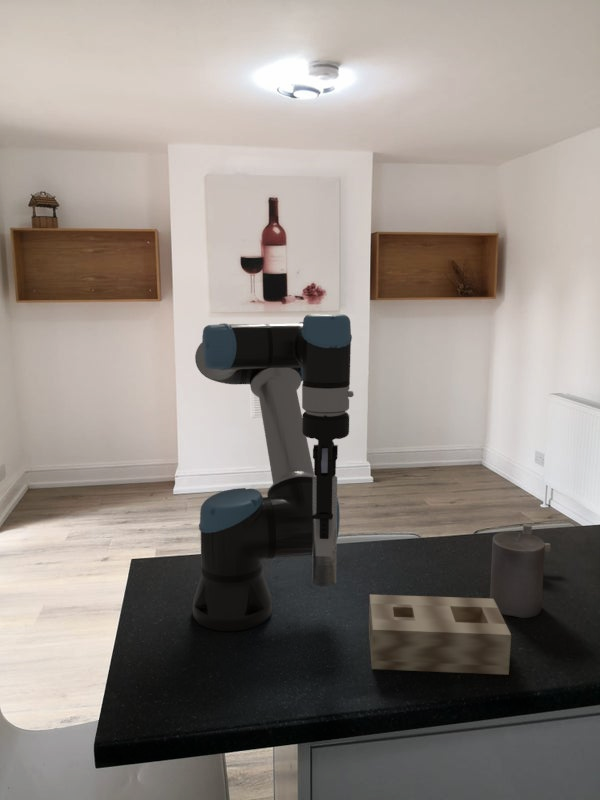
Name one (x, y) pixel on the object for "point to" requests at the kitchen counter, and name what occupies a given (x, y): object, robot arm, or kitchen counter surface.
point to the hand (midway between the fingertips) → (324, 549)
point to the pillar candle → (517, 573)
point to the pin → (327, 564)
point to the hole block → (438, 634)
